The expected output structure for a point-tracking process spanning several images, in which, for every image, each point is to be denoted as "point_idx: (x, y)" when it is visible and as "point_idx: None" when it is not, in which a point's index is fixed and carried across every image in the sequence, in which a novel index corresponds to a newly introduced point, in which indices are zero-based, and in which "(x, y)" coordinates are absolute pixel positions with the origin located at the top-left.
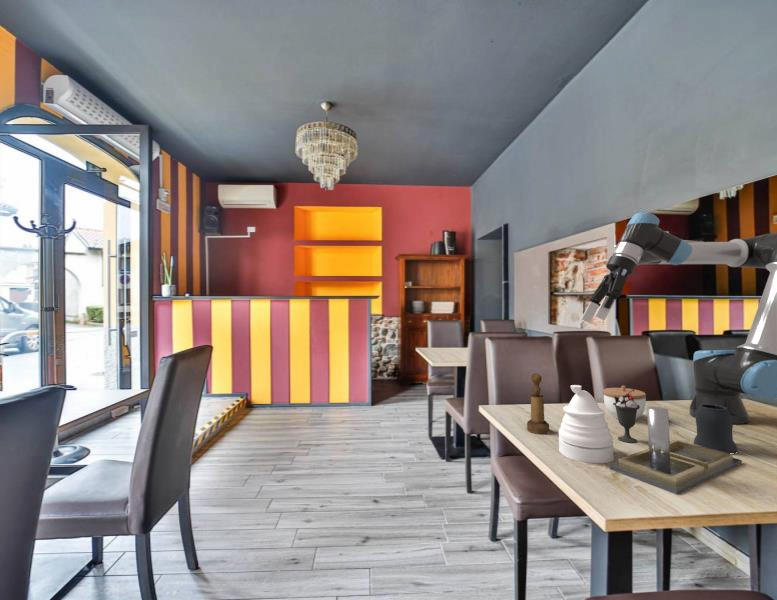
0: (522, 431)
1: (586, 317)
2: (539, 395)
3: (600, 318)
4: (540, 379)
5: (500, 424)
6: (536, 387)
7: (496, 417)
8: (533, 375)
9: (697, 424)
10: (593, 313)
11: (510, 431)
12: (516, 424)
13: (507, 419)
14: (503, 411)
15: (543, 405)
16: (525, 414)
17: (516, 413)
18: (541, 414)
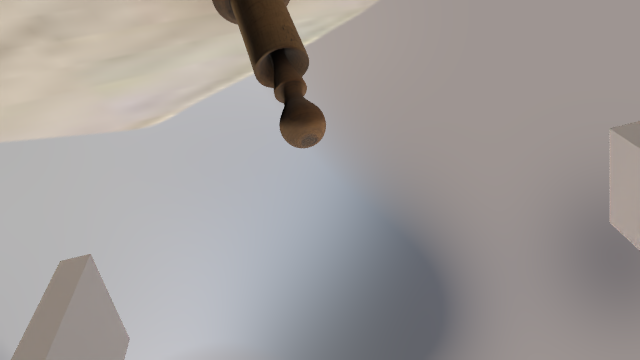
0: None
1: (106, 334)
2: (260, 61)
3: (617, 165)
4: (316, 107)
5: (224, 87)
6: (303, 93)
7: (145, 117)
8: (318, 141)
9: None
10: (58, 357)
11: None
12: (201, 49)
13: (152, 86)
14: (45, 123)
15: (280, 20)
16: (35, 53)
17: (43, 82)
18: (282, 3)
